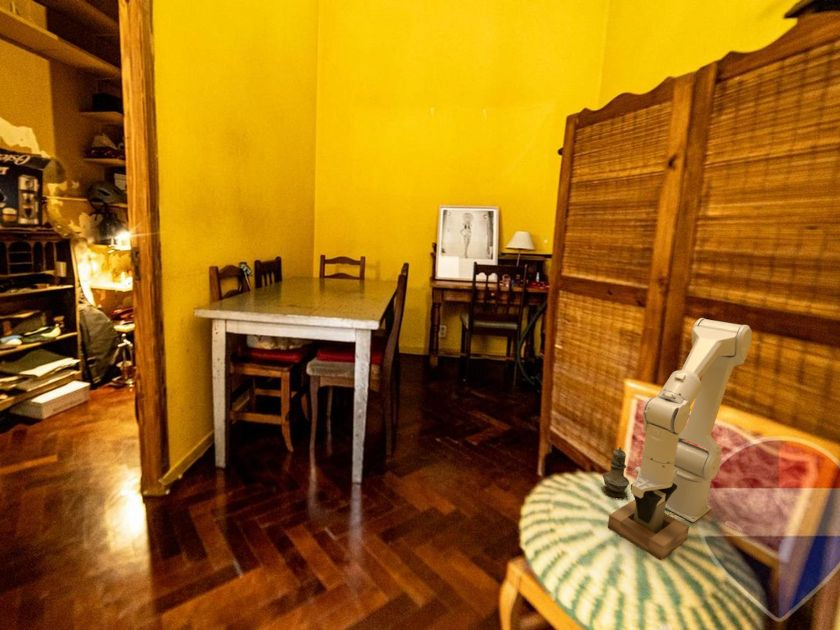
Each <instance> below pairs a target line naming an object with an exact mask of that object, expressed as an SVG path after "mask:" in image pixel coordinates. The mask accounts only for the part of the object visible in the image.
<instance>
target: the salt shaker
mask: <svg viewBox="0 0 840 630" xmlns="http://www.w3.org/2000/svg"><path fill="white" fill-rule="evenodd" d="M622 449H623V448H622V447H621V446H620V447H618V449H614V450H613V452H612V459H611V460H610V462H609V464H610V469H609V470H610V471H609V472H604V473H603V475H602V478H603V482H604V485H605V486H603V487H602V492H603V493H604V495H607V496H608V497H610V498H612V499H616V498H617V499H618V500H621V499H620V498H623V499H625V498H626V497H627V493H626V492H625V490H626V489H627V488H628V486H629V485H630V480H629V479H628V478H627V477H626V476H625V470H626V469H627V465H626V464H625V463H626V458H627V457H626V456H627V454H626V452H625V451H624V450H622ZM617 499H616V500H617Z"/></svg>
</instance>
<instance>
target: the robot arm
mask: <svg viewBox="0 0 840 630" xmlns="http://www.w3.org/2000/svg"><path fill="white" fill-rule="evenodd" d="M752 336H753V331H752V329H751V328H750V325H748V324H737V323H732V322H731V323H730V322H725V321H719V320H711V319H706V318H704V317H701V318H699V319H697V320H696V321H695V322H694V324H693V326H692V330H691V335H690V337H691V344H692V345H691V346H692V348H691V349H690V352H689V354H688V356H687V358H686V360H685V362H684V364H683V366H682V369H680V370H675V371H673V372H672V373H671V375H670V376H669V378H668V379H667V381H666V382H665V384H664V385H663V387H662V388H661V390H660V391H659V393H658V394H657V396H654V397H651V398H648V400H647V401H646V403H645V405H644V407H643V410H642V420H643V431H644V432H645V436H644V443H643V449H642V457H641V463H640V466H636V467H634V470H633V471H634V473H635V474H637V476H636V479H635V481H634V482H633V483H631V484H630V493H631V494H632V495H633V498H634V500H635V501H636V506H637V513H638V518H639V519H641V520H642V521H644V522H646V523H649V522H650V521H651V518H652V516H653V513H654V510H655V507H656V505H657V504H658V502H659V501H660V500H661V499H662V497H661V496H659V495H657V494H655V493H654V491H653V490H659V491H661V492H663V493H665V494H666V496H665V501H666V505H665V510H668V511H670V512H672V513H673V514H675V515H677V516H678V517H679V516H680V517H681V518H684V519H685V520H686V521H690V522H691V523H695V522H696V521H697V520H699V519H700V518H702V517H703V516H704V515H705V514H706V513H708V512H709V511H710V510H712V507H711V506H710V505H708V500H709V494H710V489H711V483H712V482H711V481H712V480H713V479H714V478H715V477H716V475H717V474H718V472H719V469H720V465H721V457H722V447H720V445H719V444H718V443H717V441H716V440H715V439H714V438H713V436H712V432H713V430H714V427H715V422H716V419H717V417H718V413H719V411H720V407H721V403H722V401H723V399H724V396H725V395H724V394H725V392H726V388H727V385H728V382H729V380H730V376H731V374H732V372H733V369H734V367H735V366H740V365H744V364H745V360H746V359H747V356H748V353H749V351H750V347H751V345H752V344H751V343H752V341H753V340H752V339H753V338H752ZM692 404H693V405H692ZM691 406H692V408H691ZM686 441H687V442H686ZM689 442H690V443H689ZM697 445H698V446H697ZM702 447H703V448H702Z"/></svg>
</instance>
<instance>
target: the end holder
mask: <svg viewBox="0 0 840 630" xmlns="http://www.w3.org/2000/svg"><path fill="white" fill-rule="evenodd" d="M635 506H636V501H635V499H633V500H631V501H630V502H628V503H626V504H625V505H623V506H621V507H620V508H619V509H616V510H615V511H612V513H609V515H608V524H607V528H608V529H610V530H611V531H613V532H614V533H616V534H618V535H619V536H621V537H623V538H624V539H625V540H627V541H629V542H631V543H632V544H633V545H635V546H637V547H639V549H641V550H643V551H645V552H646V553H648V554H650V555H651V556H653V557H655V558H656V559H658V560H660V561H662V560H663V559H664V558H667V556H668V555H670V554H671V553H672V552H673V551H675V550H676V549H677V548H678V547H679V546H680V545H682V544H683V543H685V541H686V540H688V535H689V531H690V525H688V524H686V523H684V522H682V521H680V520H679V519H677V518H675V517H673V516H671V515H669V514H667V513H666V512H664V518H663V524H662V529H661V530H659V531H658V532H657V533H653V532H652V531H650V530H648V529H647V528H645V527H643V526H641V525H640V524H638V523H636V522H634V521H633V520H634V513H635Z"/></svg>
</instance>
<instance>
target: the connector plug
mask: <svg viewBox="0 0 840 630" xmlns="http://www.w3.org/2000/svg"><path fill="white" fill-rule="evenodd" d="M653 491H654V493H655V494H657V495H659V496H661V497H662V499H661V500H660V501H659V502H658V504H657V505H656V507H655V510H654V513H653V516H652V518H651V521H650V522H649V523H646V522H644V521H642V520H641V519H639V518H638V513H637V506H635V513H634V520H633V521H634V522H636V523H638V524H640V525H641V526H643V527H645V528H647V529H648V530H650V531H652V532H653V533H657V532H658V531H659V530H661V529H662V524H663V518H664V513H666V512H665V510H666V508H665V505H666V501H665V496H666V494H665V493H663V492H661V491H659V490H653Z"/></svg>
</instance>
